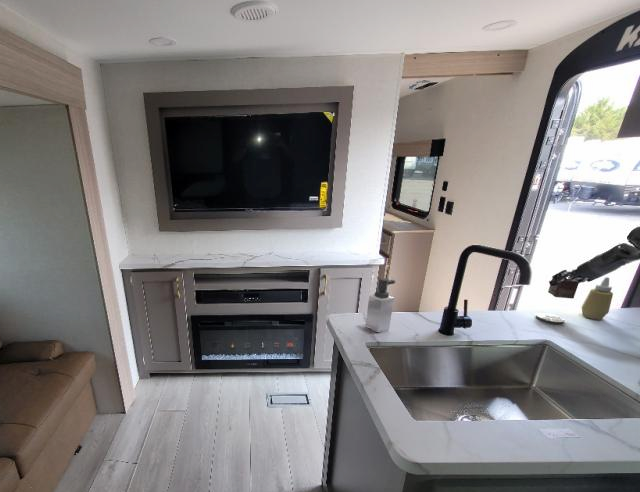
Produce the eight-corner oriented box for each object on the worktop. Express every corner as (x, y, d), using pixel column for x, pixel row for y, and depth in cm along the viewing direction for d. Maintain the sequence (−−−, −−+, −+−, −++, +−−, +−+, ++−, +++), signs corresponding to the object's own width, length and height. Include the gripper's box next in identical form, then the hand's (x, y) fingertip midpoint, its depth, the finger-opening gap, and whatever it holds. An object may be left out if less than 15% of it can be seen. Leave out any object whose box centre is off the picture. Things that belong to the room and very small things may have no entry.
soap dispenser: (393, 328, 135) (400, 279, 128) (377, 333, 132) (383, 283, 124) (381, 322, 141) (387, 274, 133) (365, 326, 138) (371, 278, 130)
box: (573, 299, 128) (580, 281, 126) (554, 297, 130) (560, 280, 128) (565, 293, 133) (571, 276, 131) (547, 292, 135) (552, 275, 133)
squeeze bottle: (610, 322, 135) (627, 281, 128) (585, 320, 137) (601, 280, 131) (597, 314, 142) (613, 275, 135) (574, 312, 144) (588, 273, 138)
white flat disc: (558, 316, 141) (559, 314, 140) (567, 326, 133) (568, 323, 133) (532, 313, 144) (533, 311, 144) (539, 322, 137) (540, 319, 136)
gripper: (583, 274, 115) (545, 292, 130) (625, 273, 115) (583, 292, 130) (574, 256, 118) (538, 275, 133) (615, 255, 118) (575, 275, 133)
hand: (560, 283), depth 132 cm, fingers closed on box, 7 cm apart
